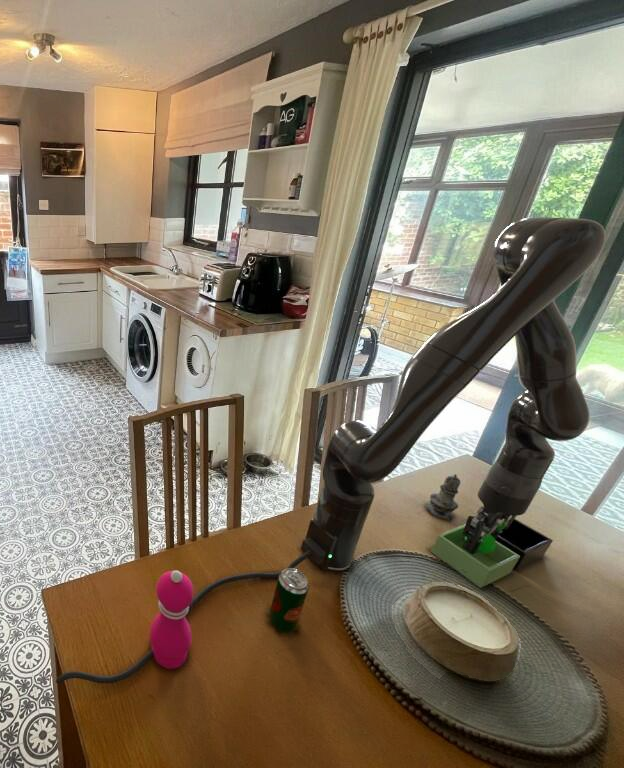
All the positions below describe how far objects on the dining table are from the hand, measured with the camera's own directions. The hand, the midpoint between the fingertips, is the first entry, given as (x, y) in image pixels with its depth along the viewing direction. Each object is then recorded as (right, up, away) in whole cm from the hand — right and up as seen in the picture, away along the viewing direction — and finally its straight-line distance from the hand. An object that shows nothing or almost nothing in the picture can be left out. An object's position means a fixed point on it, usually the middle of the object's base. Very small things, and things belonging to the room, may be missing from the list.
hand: (476, 547), depth 89 cm
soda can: (-47, -10, -11) cm, 49 cm away
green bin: (0, -4, +2) cm, 5 cm away
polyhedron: (0, -1, 0) cm, 1 cm away
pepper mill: (-70, -13, -16) cm, 72 cm away
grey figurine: (+5, +2, +16) cm, 17 cm away
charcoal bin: (+11, -2, +6) cm, 13 cm away
